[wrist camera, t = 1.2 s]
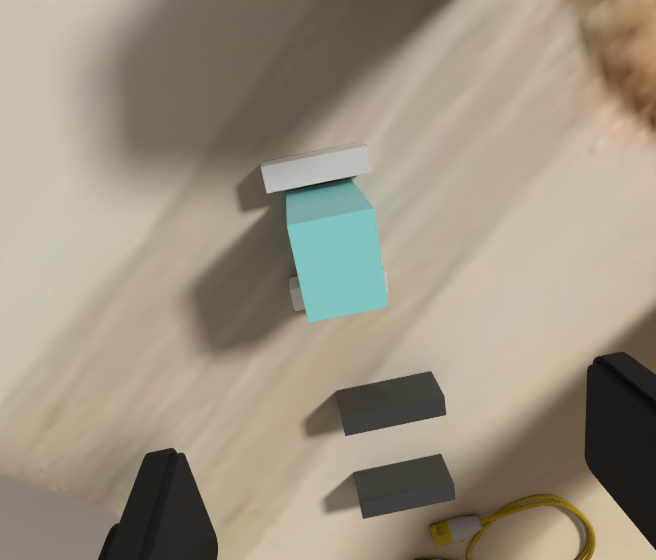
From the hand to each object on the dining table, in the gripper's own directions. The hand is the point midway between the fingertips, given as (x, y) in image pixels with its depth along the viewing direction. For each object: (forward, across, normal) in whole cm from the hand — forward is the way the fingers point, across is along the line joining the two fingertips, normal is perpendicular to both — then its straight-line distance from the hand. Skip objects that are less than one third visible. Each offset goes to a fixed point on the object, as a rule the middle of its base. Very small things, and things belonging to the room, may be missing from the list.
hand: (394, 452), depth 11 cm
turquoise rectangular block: (+20, 0, 0) cm, 20 cm away
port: (+20, -2, +17) cm, 26 cm away
